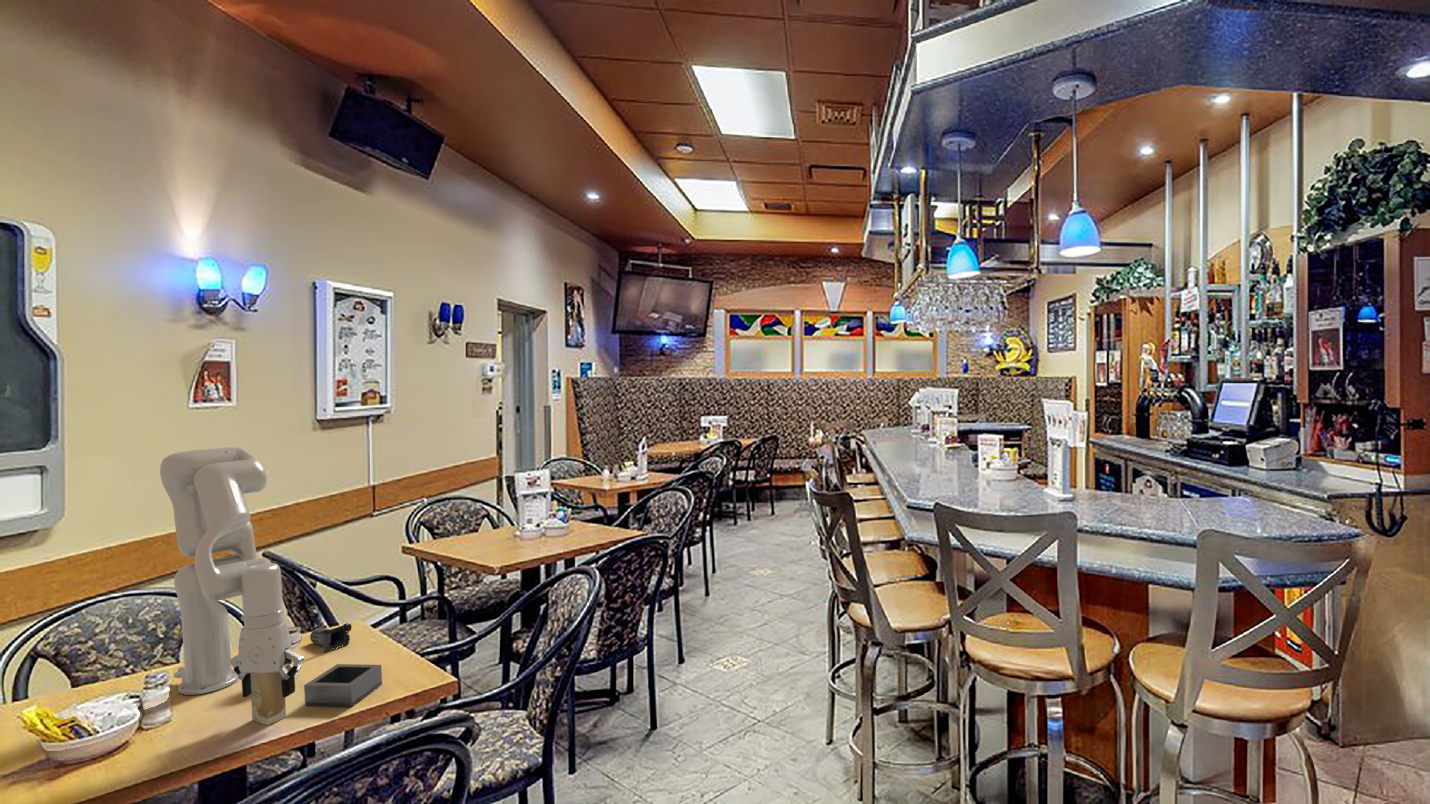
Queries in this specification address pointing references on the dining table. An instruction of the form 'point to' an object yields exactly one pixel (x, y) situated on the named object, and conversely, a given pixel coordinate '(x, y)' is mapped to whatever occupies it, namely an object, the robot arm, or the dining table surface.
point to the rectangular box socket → (343, 685)
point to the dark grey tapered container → (331, 637)
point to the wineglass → (295, 639)
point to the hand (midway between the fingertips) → (269, 694)
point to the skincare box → (267, 697)
